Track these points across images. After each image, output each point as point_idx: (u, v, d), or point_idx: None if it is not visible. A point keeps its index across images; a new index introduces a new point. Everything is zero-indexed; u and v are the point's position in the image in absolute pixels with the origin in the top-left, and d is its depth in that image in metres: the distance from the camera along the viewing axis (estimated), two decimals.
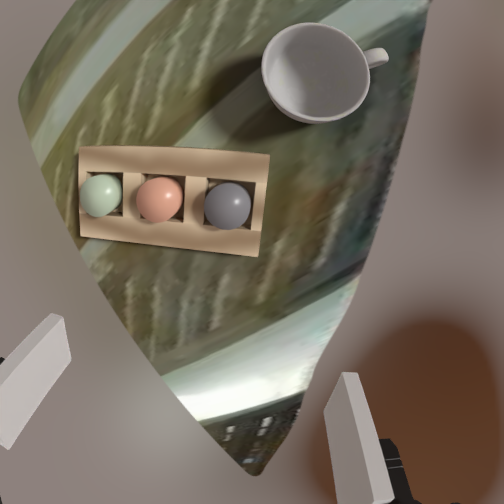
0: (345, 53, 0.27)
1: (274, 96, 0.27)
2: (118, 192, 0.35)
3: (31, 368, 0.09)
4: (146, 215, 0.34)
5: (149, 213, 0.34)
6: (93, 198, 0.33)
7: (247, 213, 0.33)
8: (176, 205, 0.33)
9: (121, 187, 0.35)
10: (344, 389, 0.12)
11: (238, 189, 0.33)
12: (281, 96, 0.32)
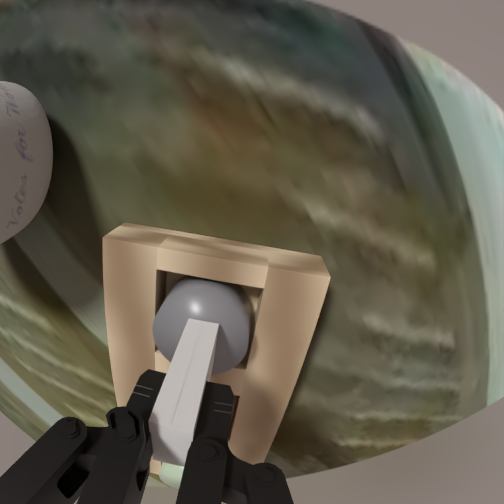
0: None
1: None
2: None
3: None
4: None
5: None
6: None
7: (211, 302, 0.14)
8: None
9: None
10: (199, 335, 0.14)
11: (160, 313, 0.15)
12: None
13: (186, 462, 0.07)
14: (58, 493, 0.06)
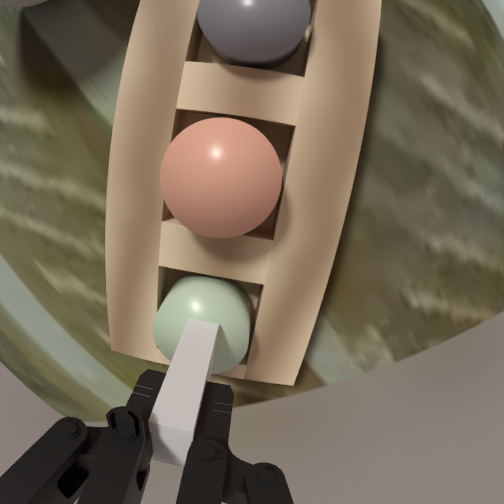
0: None
1: None
2: (201, 282, 0.16)
3: None
4: (257, 215, 0.13)
5: (252, 204, 0.12)
6: None
7: None
8: (236, 121, 0.11)
9: (196, 274, 0.17)
10: (199, 335, 0.14)
11: None
12: None
13: (186, 462, 0.07)
14: (58, 493, 0.06)
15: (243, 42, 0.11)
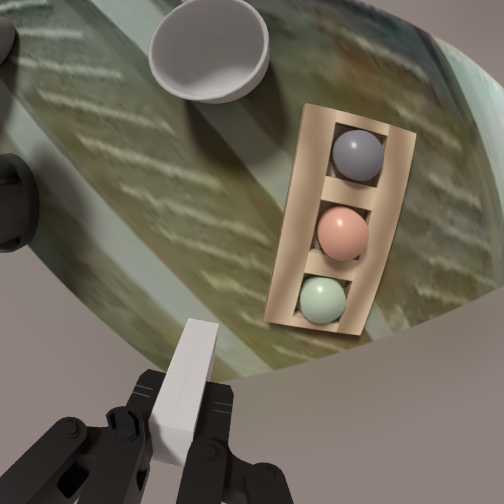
0: (185, 23, 0.24)
1: (238, 86, 0.23)
2: (324, 277, 0.33)
3: None
4: (358, 251, 0.30)
5: (356, 247, 0.29)
6: (324, 307, 0.33)
7: (368, 134, 0.27)
8: (353, 213, 0.28)
9: None
10: (199, 335, 0.14)
11: (341, 139, 0.27)
12: None
13: (186, 462, 0.07)
14: (58, 493, 0.06)
15: (355, 173, 0.28)
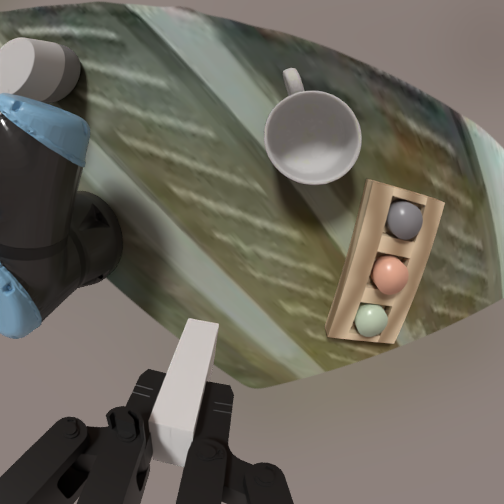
0: (286, 105, 0.33)
1: (337, 177, 0.33)
2: (373, 304, 0.44)
3: None
4: (400, 288, 0.40)
5: (399, 285, 0.40)
6: (372, 325, 0.43)
7: (414, 206, 0.37)
8: (400, 263, 0.39)
9: None
10: (199, 335, 0.14)
11: (396, 210, 0.37)
12: (320, 163, 0.38)
13: (186, 462, 0.07)
14: (58, 493, 0.06)
15: (402, 234, 0.38)
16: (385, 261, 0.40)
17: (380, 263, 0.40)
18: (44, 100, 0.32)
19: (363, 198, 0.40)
